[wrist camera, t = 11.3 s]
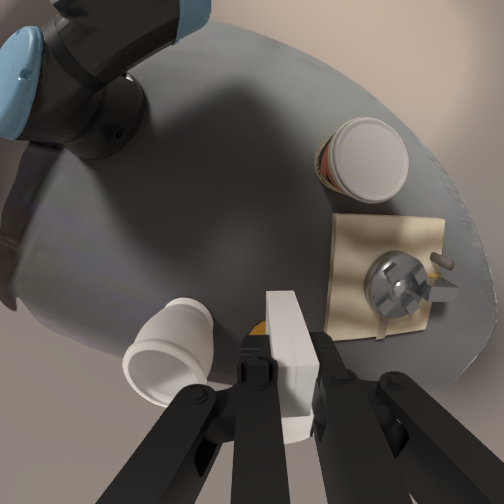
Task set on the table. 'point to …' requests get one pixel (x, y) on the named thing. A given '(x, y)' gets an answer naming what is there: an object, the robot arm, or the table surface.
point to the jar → (171, 351)
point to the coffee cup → (363, 161)
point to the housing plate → (359, 261)
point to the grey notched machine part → (403, 285)
